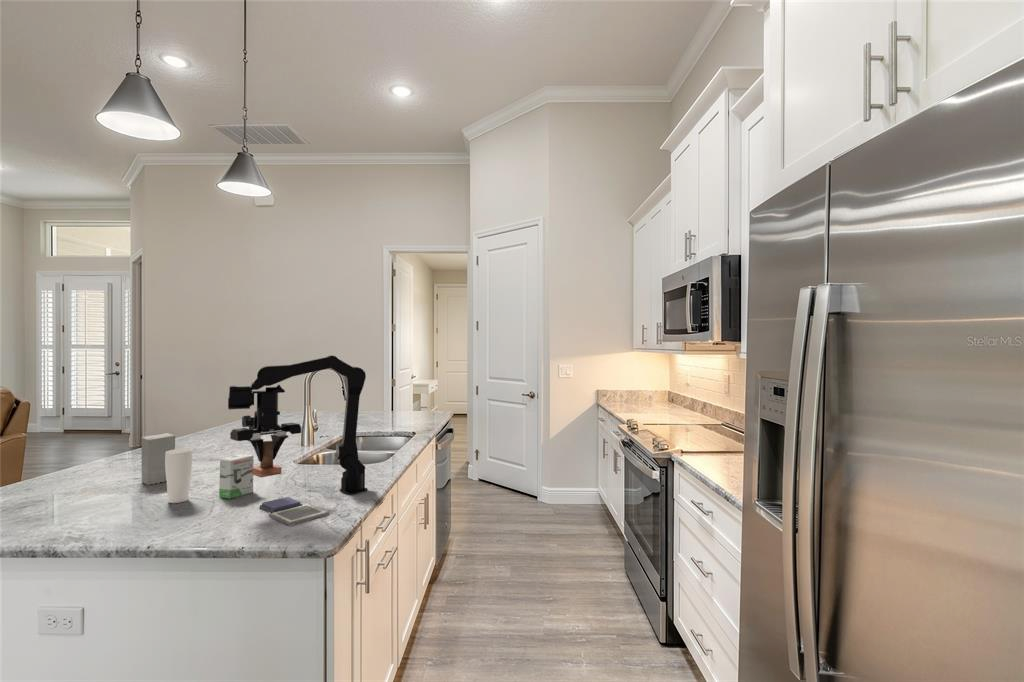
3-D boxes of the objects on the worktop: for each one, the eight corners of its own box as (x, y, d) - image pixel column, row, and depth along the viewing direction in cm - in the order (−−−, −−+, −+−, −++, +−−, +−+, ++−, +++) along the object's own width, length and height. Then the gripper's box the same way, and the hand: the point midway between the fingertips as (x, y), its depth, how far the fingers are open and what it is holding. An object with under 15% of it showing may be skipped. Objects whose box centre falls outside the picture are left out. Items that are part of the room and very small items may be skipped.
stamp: (272, 470, 155) (272, 439, 156) (281, 473, 152) (281, 441, 152) (251, 474, 151) (252, 442, 151) (260, 477, 147) (261, 444, 147)
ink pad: (288, 501, 151) (288, 496, 151) (302, 506, 146) (302, 501, 146) (259, 508, 145) (259, 502, 145) (273, 514, 139) (273, 508, 139)
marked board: (308, 506, 147) (308, 503, 147) (329, 514, 139) (329, 511, 139) (268, 516, 138) (268, 513, 138) (288, 525, 131) (288, 522, 131)
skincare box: (168, 477, 178) (168, 432, 178) (176, 480, 174) (177, 434, 174) (139, 482, 171) (140, 435, 171) (147, 486, 167) (148, 438, 167)
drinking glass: (196, 499, 153) (197, 449, 153) (173, 506, 146) (174, 454, 147) (182, 496, 155) (183, 447, 156) (159, 502, 149) (160, 451, 149)
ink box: (230, 499, 153) (230, 460, 153) (218, 497, 155) (218, 458, 155) (254, 491, 161) (254, 454, 161) (242, 490, 163) (242, 453, 163)
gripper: (285, 403, 164) (284, 451, 164) (222, 408, 149) (222, 461, 149) (302, 406, 157) (302, 456, 156) (238, 411, 142) (238, 467, 142)
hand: (266, 460), depth 151 cm, fingers closed on stamp, 3 cm apart
